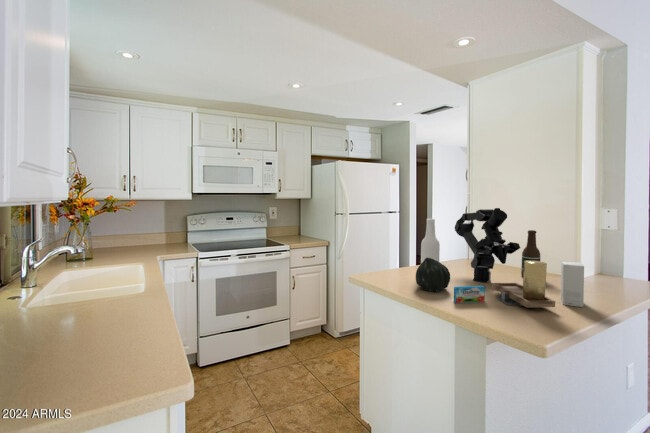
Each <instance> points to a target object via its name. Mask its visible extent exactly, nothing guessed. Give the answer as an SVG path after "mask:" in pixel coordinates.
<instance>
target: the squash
mask: <svg viewBox="0 0 650 433" xmlns="http://www.w3.org/2000/svg"><path fill="white" fill-rule="evenodd" d="M450 281H451V273H450V270H449V269H448V267H447V266H446V265H444V264H443V263H442V262H440V261H439V262H438V261H436V260H434V259H432V258H426V259H425V260H424V261H423V262H422V263H421V262H420V265H418V267H417V269H416V272H415V282H416V284H417V286H418V287H420V289H422V290H425V291H429V292H434V291H435V292H437V293H439V292H441V291H442V290H444V289H447V288H448V287H449V284H450Z"/></svg>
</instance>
